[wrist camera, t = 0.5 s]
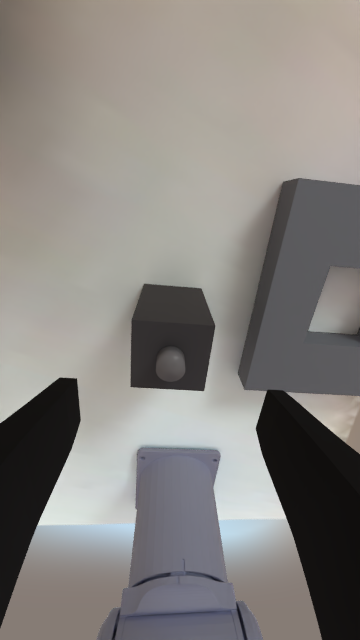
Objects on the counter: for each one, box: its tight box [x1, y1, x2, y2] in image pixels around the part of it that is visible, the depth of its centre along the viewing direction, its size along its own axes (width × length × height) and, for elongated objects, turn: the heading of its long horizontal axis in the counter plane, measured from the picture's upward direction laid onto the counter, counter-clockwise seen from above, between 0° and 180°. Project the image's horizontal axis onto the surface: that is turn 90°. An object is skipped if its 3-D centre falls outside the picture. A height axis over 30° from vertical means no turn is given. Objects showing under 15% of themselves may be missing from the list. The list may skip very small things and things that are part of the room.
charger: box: [131, 284, 215, 391], centre depth 15 cm, size 4×4×7 cm
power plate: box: [238, 178, 360, 396], centre depth 17 cm, size 14×12×2 cm
